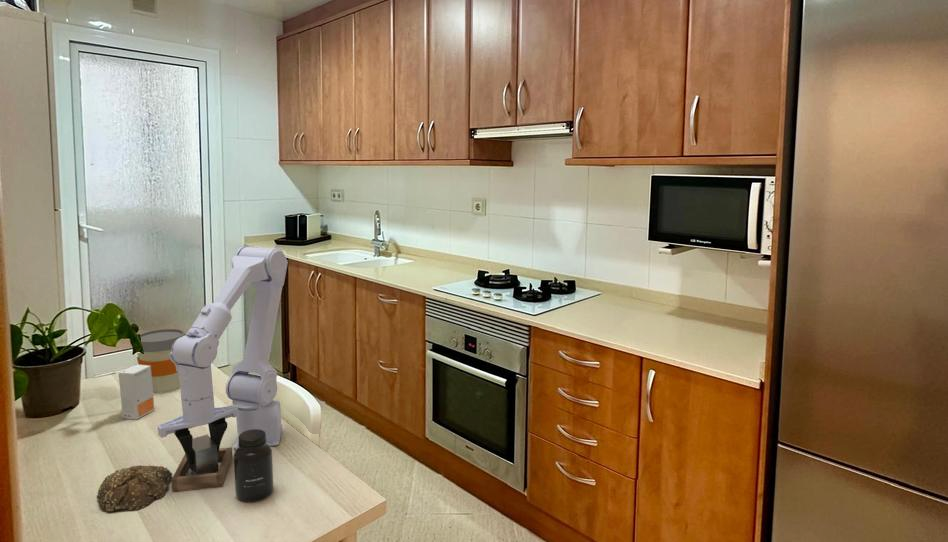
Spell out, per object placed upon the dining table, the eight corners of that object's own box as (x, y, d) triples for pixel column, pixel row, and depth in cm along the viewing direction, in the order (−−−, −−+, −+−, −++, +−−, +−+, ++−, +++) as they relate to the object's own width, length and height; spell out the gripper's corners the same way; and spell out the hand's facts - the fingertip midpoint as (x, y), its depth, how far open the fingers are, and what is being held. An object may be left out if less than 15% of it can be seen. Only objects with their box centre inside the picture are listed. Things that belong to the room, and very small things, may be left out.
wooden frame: (232, 458, 122) (232, 447, 121) (222, 486, 111) (221, 474, 111) (187, 462, 120) (186, 451, 119) (172, 491, 109) (171, 479, 109)
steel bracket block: (188, 467, 116) (186, 440, 115) (209, 460, 119) (207, 434, 118) (197, 479, 112) (195, 451, 111) (219, 472, 115) (216, 445, 113)
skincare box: (137, 420, 139) (132, 373, 137) (122, 418, 140) (117, 372, 138) (155, 410, 145) (151, 365, 143) (141, 408, 146) (136, 363, 143)
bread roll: (105, 483, 113) (102, 459, 112) (175, 471, 117) (173, 449, 116) (88, 520, 101) (84, 495, 100) (166, 506, 105) (164, 482, 104)
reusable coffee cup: (183, 374, 168) (179, 326, 166) (195, 388, 159) (190, 336, 156) (135, 385, 161) (129, 333, 158) (144, 399, 151) (138, 345, 148)
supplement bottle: (251, 507, 105) (247, 447, 103) (228, 495, 108) (223, 437, 106) (281, 489, 110) (278, 432, 108) (258, 479, 114) (255, 423, 112)
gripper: (228, 380, 120) (232, 440, 123) (151, 398, 111) (158, 462, 113) (240, 390, 115) (244, 452, 117) (160, 410, 105) (167, 477, 108)
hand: (202, 458), depth 115 cm, fingers closed on steel bracket block, 4 cm apart
